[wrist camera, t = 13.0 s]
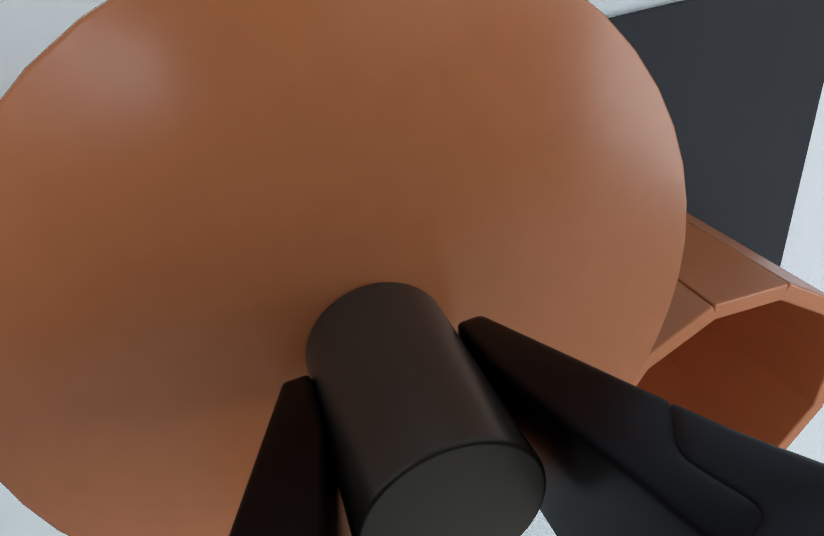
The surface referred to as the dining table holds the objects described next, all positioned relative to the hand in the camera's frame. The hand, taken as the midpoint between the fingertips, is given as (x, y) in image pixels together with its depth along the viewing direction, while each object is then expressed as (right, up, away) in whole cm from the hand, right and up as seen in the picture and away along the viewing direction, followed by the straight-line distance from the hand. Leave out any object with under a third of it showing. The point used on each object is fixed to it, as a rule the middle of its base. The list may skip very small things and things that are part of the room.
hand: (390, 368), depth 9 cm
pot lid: (0, +1, +1) cm, 1 cm away
